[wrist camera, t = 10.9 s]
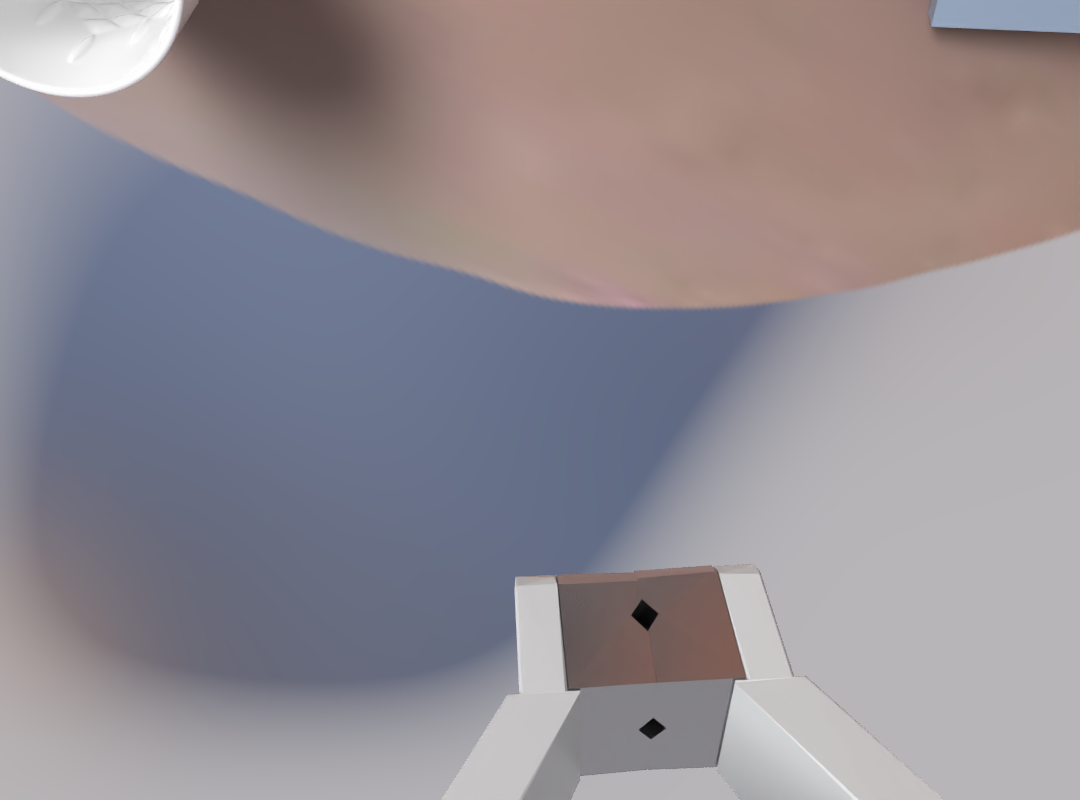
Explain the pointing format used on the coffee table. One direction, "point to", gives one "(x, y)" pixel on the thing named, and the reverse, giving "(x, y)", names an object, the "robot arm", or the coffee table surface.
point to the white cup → (86, 42)
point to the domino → (1007, 15)
